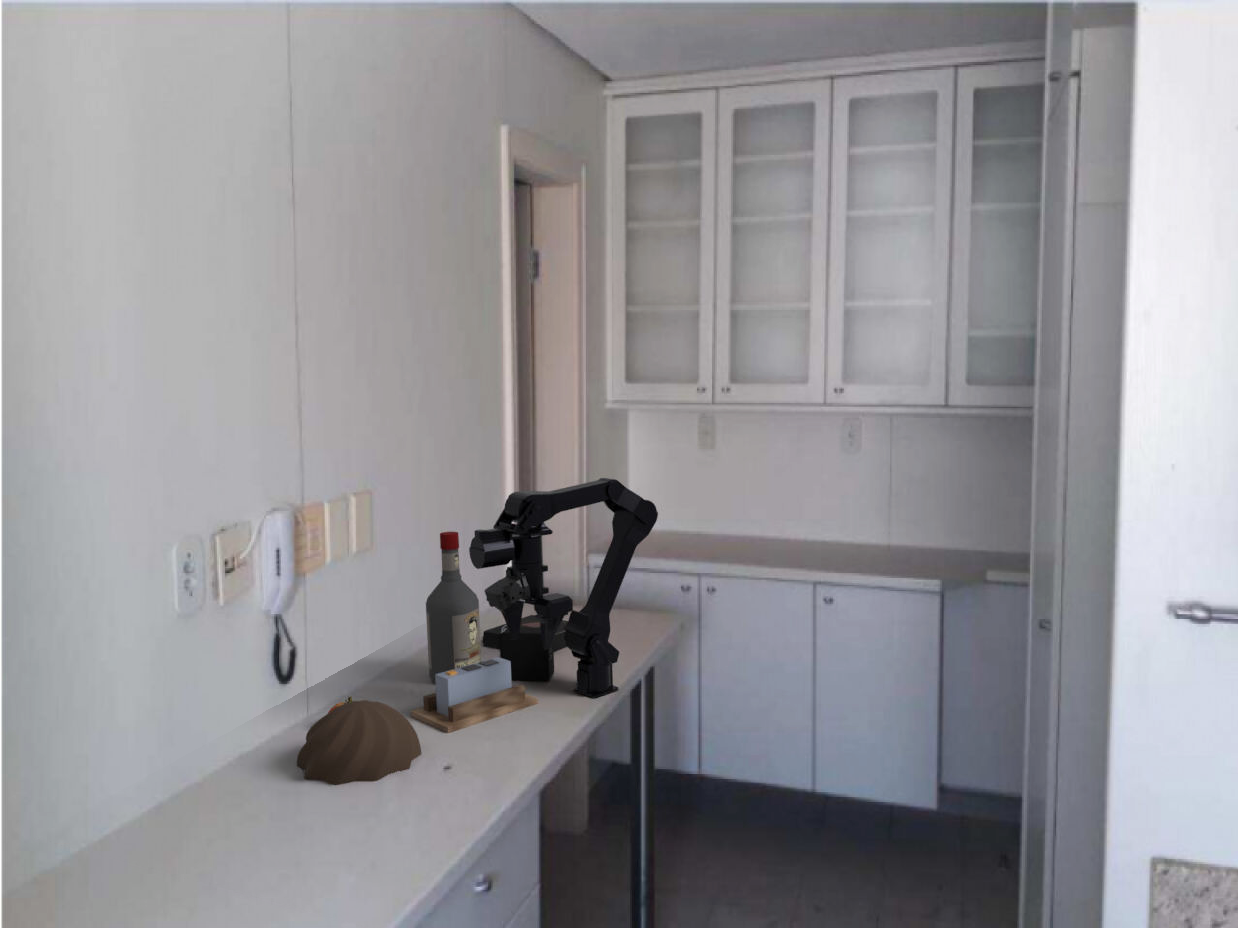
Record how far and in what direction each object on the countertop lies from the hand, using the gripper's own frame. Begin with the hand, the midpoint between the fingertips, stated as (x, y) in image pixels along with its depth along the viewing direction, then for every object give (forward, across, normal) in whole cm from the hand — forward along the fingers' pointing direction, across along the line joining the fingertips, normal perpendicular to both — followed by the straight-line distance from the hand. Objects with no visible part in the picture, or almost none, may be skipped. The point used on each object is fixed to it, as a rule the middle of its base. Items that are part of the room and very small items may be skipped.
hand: (530, 644), depth 184 cm
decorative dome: (+12, -2, -34) cm, 37 cm away
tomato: (+12, -17, -28) cm, 35 cm away
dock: (+12, -7, -8) cm, 16 cm away
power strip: (+11, -7, -8) cm, 15 cm away
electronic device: (+12, -14, +10) cm, 21 cm away
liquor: (+12, -25, 0) cm, 28 cm away
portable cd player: (+13, -33, +27) cm, 44 cm away
